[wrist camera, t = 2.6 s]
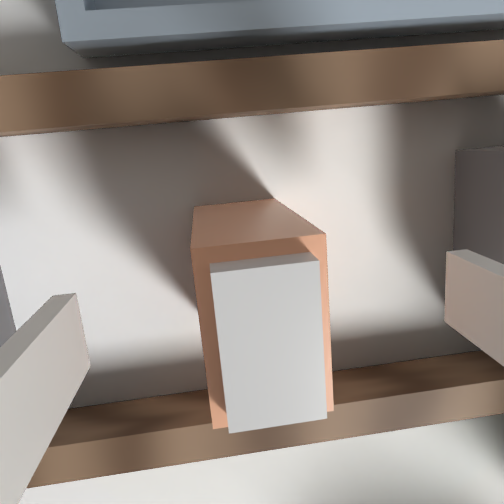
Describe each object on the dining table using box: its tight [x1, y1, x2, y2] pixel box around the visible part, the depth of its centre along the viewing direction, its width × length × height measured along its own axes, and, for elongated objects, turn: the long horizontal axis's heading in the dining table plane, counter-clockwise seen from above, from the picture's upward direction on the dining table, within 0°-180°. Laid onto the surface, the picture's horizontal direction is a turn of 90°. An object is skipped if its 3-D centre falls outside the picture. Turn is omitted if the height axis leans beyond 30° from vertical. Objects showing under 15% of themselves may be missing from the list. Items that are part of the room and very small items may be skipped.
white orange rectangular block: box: [190, 198, 334, 434], centre depth 17 cm, size 4×6×10 cm, turn 5°
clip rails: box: [0, 40, 504, 488], centre depth 20 cm, size 33×18×3 cm, turn 95°
